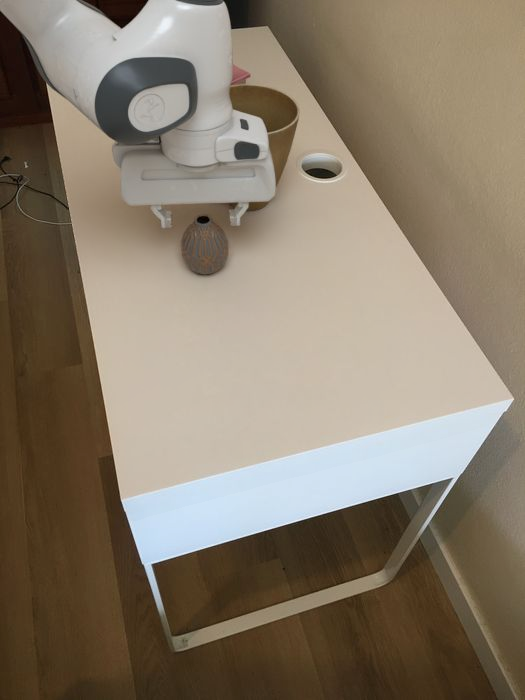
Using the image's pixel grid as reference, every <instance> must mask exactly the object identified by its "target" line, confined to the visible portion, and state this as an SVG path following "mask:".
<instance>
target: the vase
mask: <svg viewBox="0 0 525 700" xmlns="http://www.w3.org/2000/svg"><path fill="white" fill-rule="evenodd" d="M180 249H181V255H182V258H183V261H184V263H185V264H186V266H187V267H188V268H189V270H191V271H192V272H195V273H197V274H201V275H212V274H215V273H216V272H218V271H219V270H221V268H223V267H224V265H225V264H226V262H227V259H228V256H229V249H230V247H229V240H228V237H227V234H226V232H225V230H224V229H223V227H222V226H220V225H219V224H218V223H217V222H216V221H214V219H213V218H212V216H211V215H209V214H207V213H200V214H198V215H196V216H195V217H194V220H193V221H192V222H191V223H190V224H189V225H188V226H187V227H186V228H185V230H184V232H183V234H182V237H181V242H180Z"/></svg>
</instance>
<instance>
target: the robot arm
mask: <svg viewBox="0 0 525 700" xmlns="http://www.w3.org/2000/svg"><path fill="white" fill-rule="evenodd" d="M0 13H1V14H2V15H4V17H5V18H6V19H7V20H8V21H9V22H10V23H11V24H12V25H13V26H14V27H15V28H16V30H17V31H18V32H19V33H20V34H21V36H22V38H23V39H24V41H25V43H26V46H27V47H28V50H29V52H30V55H31V57H32V60H33V63H34V65H35V67H36V69H37V71H38V73H39V75H40V77H41V78H42V80H43V81H44V82H45V83H46V84H47V85H48V86H49V87H50V88H51V89H52V90H53V91H55V92H56V93H58V95H60V96H61V97H62V98H64V99H66V100H67V101H68V102H69V103H70V104H71V105H72V106H74V107H75V108H76V109H77V110H78V112H80V113H81V114H82V115H84V117H86V119H88V120H89V121H90V122H91V123H92V124H93V125H95V127H97V129H99V130H100V131H101V132H102V133H103V134H104V135H106V136H107V137H108V138H109V139H111V140H113V141H114V143H113V144H112V147H111V151H112V156H113V161H114V163H115V165H116V166H117V167H118V168H120V192H121V193H120V194H121V199H122V201H124V203H126V204H127V206H150V211H152V213H153V215H155V216H156V217H157V218H158V219H159V220H160V224H161V229H172V228H173V213H172V210H165V209H164V207H163V205H164V206H165V205H196V204H197V205H198V204H229V203H234V202H238V204H237V206H236V207H234V208H229V209H228V222H229V226H230V227H233V226H234V227H235V226H237V227H239V226H241V217H242V216H243V215H244V214H245V212H247V208H248V206H249V202H267V201H269V202H270V201H271V200H272V199H273V198H274V197H275V196H276V194H277V193H276V192H277V187H276V180H275V171H274V165H273V160H272V155H271V151H270V147H269V140H268V133H267V130H266V127H265V124H264V122H263V120H262V119H261V118H259V117H256V116H253V115H249V114H246V113H243V112H239V111H236V110H233V108H232V103H231V100H230V95H229V90H230V85H231V82H232V78H233V65H234V51H233V50H234V47H233V45H234V44H233V34H232V25H231V19H230V14H229V9H228V7H227V4H226V2H225V1H224V0H148V1H147V2H146V3H145V5H144V6H143V8H142V9H141V10H140V11H139V12H138V14H137V15H135V17H134V18H133V19H132V20H131V21H130V22H129V23H128V24H126V25H125V26H124V27H122V28H121V27H120V26H119V25H117V24H116V23H115V22H114V21H113V20H112V19H111V18H109V17H108V16H107V15H106V14H105V13H104V12H102V11H101V10H100V9H98V7H95V5H92V4H91V3H88V2H86V1H84V0H0Z"/></svg>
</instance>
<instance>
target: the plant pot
mask: <svg viewBox="0 0 525 700" xmlns="http://www.w3.org/2000/svg"><path fill="white" fill-rule="evenodd" d="M229 95H230V100H231V103H232V108H233V110H236V111H239V112H243V113H246V114H249V115H253V116H256V117H259V118H261V119H262V120H263V122H264V124H265V127H266V130H267V133H268V140H269V147H270V151H271V155H272V160H273V165H274V171H275V180H276V188H278V185H279V182H280V180H281V177H282V175H283V173H284V170H285V167H286V165H287V162H288V160H289V156H290V153H291V149H292V146H293V141H294V139H295V135H296V130H297V128H298V127H297V126H298V123H299V119H300V116H301V115H300V114H301V109H300V106H299V104H298V102H297V101H296V99H294V98H293V97H292V96H291V95H289V94H288V93H286V92H285V91H283V90H280V89H278V88H275V87H271V86H267V85H261V84H254V83H253V84H252V83H250V84H249V83H246V84H241V85H233V86H230V90H229ZM269 203H270V201H267V202H249V206H248V208H247V210H246V212H247V211H257V210H260V209H263V208H264V207H265V206H266V205H268V204H269ZM228 204H229V205H230V206H231V207H233V208H235V207H236V206H237V204H238V202H234V203H228Z"/></svg>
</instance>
